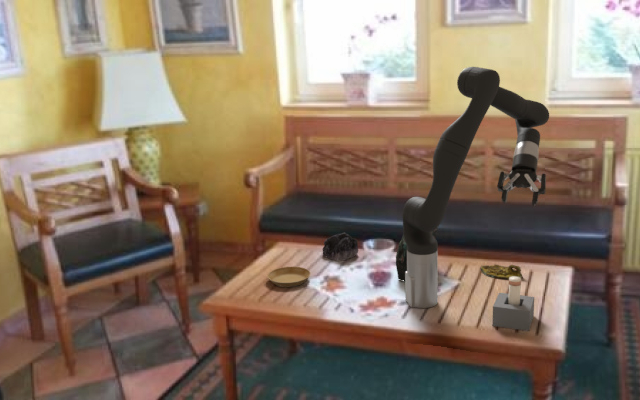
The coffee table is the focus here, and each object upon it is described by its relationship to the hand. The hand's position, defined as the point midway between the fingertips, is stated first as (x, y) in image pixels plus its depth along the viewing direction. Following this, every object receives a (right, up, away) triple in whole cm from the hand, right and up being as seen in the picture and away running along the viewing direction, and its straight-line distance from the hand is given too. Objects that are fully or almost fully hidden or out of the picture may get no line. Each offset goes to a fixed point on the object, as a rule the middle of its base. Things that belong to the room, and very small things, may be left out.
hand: (518, 203), depth 203 cm
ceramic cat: (-27, -24, +25) cm, 44 cm away
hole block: (-5, -34, -13) cm, 36 cm away
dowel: (-5, -33, -13) cm, 35 cm away
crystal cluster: (-53, -20, +46) cm, 73 cm away
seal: (0, -24, +21) cm, 32 cm away
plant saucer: (-72, -27, +24) cm, 80 cm away
